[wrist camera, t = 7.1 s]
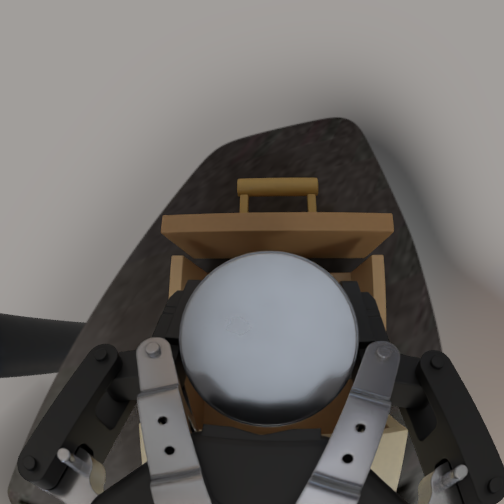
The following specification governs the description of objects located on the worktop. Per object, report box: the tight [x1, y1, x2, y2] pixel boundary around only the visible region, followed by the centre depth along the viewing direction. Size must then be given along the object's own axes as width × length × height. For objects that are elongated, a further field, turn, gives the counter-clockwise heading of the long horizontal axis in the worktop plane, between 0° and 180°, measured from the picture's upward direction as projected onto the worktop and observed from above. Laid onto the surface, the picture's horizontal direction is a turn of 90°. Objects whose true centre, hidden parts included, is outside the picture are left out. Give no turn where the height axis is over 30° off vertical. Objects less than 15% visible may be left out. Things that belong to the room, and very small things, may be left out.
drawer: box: [161, 178, 394, 435], centre depth 20 cm, size 21×15×7 cm
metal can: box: [179, 251, 359, 427], centre depth 14 cm, size 6×6×11 cm
